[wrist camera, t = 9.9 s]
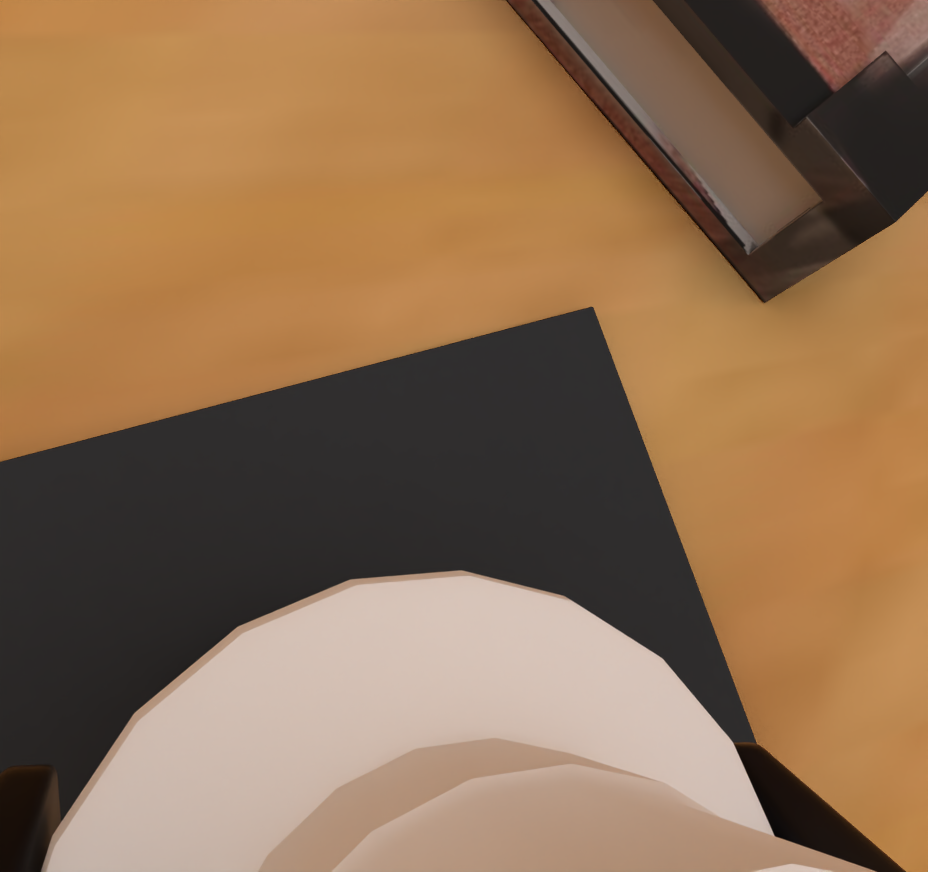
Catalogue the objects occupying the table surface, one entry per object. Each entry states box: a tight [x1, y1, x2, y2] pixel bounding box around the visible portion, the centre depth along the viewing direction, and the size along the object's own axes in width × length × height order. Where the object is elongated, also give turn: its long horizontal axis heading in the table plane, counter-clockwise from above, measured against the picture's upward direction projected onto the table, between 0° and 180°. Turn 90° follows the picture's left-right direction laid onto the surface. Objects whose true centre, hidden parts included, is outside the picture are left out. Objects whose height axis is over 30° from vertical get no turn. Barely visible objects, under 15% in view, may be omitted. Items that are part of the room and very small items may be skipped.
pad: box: [0, 307, 757, 822], centre depth 18 cm, size 20×12×1 cm, turn 110°
